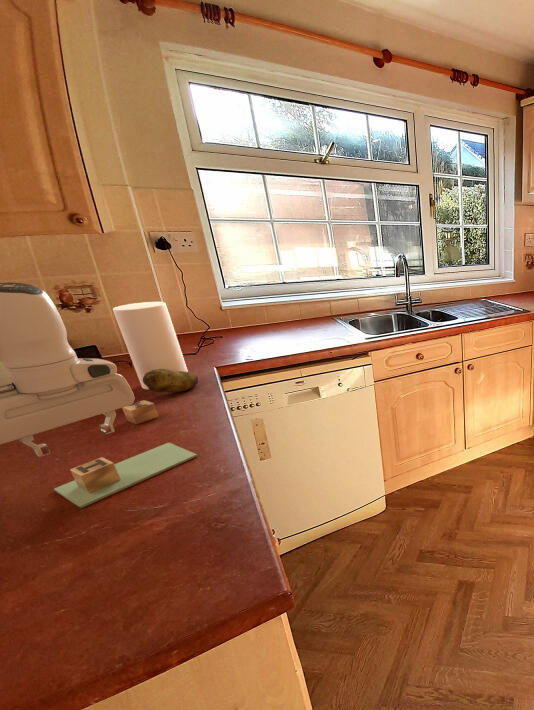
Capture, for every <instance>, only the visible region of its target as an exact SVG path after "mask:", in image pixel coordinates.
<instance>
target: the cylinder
mask: <svg viewBox="0 0 534 710" xmlns="http://www.w3.org/2000/svg"><path fill="white" fill-rule="evenodd" d="M167 306H168V305H167V304H166V302H164V301H145V302H134V303H127V304H122V305H118V306H115V307H112V311H113V314H114V317H115V319H116V322H117V325H118V327H119V330H120V333H121V335H122V338H123V341H124V344H125V346H126V349H127V352H128V354H129V357H130V359H131V362H132V365H133V368H134V370H135V372H136V376H137V378H138V381H139V383H140V386H141V388H142V389H144V390H150V389H148V387H147V386H146V385H145V384H144V383H143V377H144V375H145V374H146V373H147V372H149V371H151V370H155V369H168V370H173V371H186V372H189V370H188V367H187V364H186V361H185V358H184V355H183V352H182V348H181V345H180V342H179V340H178V336H177V333H176V330H175V328H174V327H175V326H174V324H173V322H172V318H171V315H170V313H169V309H168V307H167ZM150 391H151V390H150Z"/></svg>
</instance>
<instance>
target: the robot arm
mask: <svg viewBox="0 0 534 710" xmlns="http://www.w3.org/2000/svg"><path fill="white" fill-rule="evenodd" d="M0 362H1V363H2V365H3V368H4V370H5V371H6V373H7V376H8V378H9V380H10V382H11V383H9V384H8V383H7V384H4V385H0V446H1V445H4V444H8V443H10V442H14V441H17V440H18V441H19V442H21V444H24V445H25V446H28V447H30V448H32V449H33V451H34V454H35V455H36V456H37V457H39V458H42V457H44V456H47V455H50V454H51V451H50V450H49V449H50V448H49V446H48V445H47V444H46V443H43V442H42V443H39V444H36V443H35V442H33V441H35V438H34V435H36V434H39V433H40V434H41V433H44V432H47V431H51V430H53V429H57V428H59V427H63V426H66V425H69V424H73V423H77V422H79V421H83V420H86V419H90V418H92V417H96V416H99V415H103V416H105V420H104V422H103V423H102V424H99V429H100V432H101V433H102V434H103V435H105V436H107V435H108V434H112V433H115V431H116V430H115V427H114V423H115V420H116V417H117V412H116V411H117V410H119V409H122V407H125V406H129V405H132V404H133V403H135V399H136V398H135V394H134V392H133V390H132V387H131V386H130V384H129V383H128V381H127V379H126V378H125V377H124V376H123V375H122V374H119V373H117V372H118V367H117V365H116V364H115V363H114V362H112V361H109V360H106V359H102V358H89V357H87V358H86V357H85V358H82V357H81V358H78V356H77V353H76V351H75V350H74V349H73V348H72V346H71V345H70V344H69V342H68V333H67V329H66V325H65V323H64V322H63V319H62V317H61V314H60V312H59V311H58V308H57V307H56V305H55V303H54V302H53V300H52V299H51V297H50V296H49V295H48V294H47V292H46V291H44V290H43V289H42V288H40V287H38V286H35V285H32V284H29V283H21V282H12V281H11V282H9V281H8V282H0Z"/></svg>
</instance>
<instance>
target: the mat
mask: <svg viewBox="0 0 534 710" xmlns="http://www.w3.org/2000/svg"><path fill="white" fill-rule="evenodd" d="M197 457H198V454H197V453H195V452H192V451H190V450H188V449H186V448H183V447H181V446H179V445H176V444H174V443H172V442H167V443H163V444H162V445H158V446H156V447H154V448H152V449H151V448H150V449H148V450H146V451H144V452H141V453H139V454H137V455H134V456H132V457H129V458H126V459H123V460H122V461H119V462H117V463H114V465H115V468H116V470H117V472H118V474H119V477H120V479H121V480H119V481H117V482H114V483H112V484H110V485H108V486H105V487H103V488H101V489H98V490H96V491H94V492H91V493H88V492H86V491H85V490H83V489H81V488H80V487H78V485H77V483H76V481H75V479H74V480H72V481H70V482H67V483H65V484H64V483H63V484H62V485H59V486H57V487H55V488H53V491H54V492H56V493H57V494H59V495H60V496H62V497H63V498H65V499H66V500H67V501H69V502H70V503H72V504H73V505H75V506H77V508H80V509H83V508H85V507H88V506H89V505H92V504H95V503H97V502H99V501H100V500H104V499H106V498H107V497H109V496H113V495H114V494H117V493H118V492H121V491H123V490H125V489H128V488H130V487H132V486H134V485H136V484H139V483H141V482H144V481H145V480H148V479H150V478H153V477H154V476H157V475H159V474H161V473H163V472H166V471H167V470H170V469H172V468H175V467H177V466H179V465H182V464H184V463H185V462H188V461H190V460H192V459H195V458H197Z"/></svg>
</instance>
